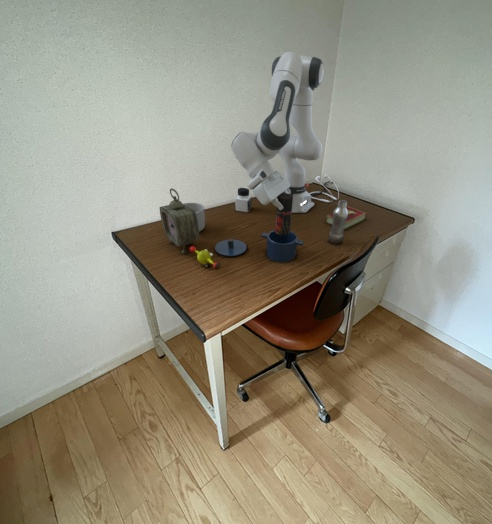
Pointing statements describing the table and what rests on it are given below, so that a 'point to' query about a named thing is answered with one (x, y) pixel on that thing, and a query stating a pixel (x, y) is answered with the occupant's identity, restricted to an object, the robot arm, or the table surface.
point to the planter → (198, 214)
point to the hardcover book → (349, 217)
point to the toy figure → (204, 257)
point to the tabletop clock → (179, 222)
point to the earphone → (326, 188)
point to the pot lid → (230, 247)
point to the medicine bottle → (243, 200)
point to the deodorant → (284, 214)
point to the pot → (281, 246)
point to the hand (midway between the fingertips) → (286, 205)
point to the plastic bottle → (338, 222)
